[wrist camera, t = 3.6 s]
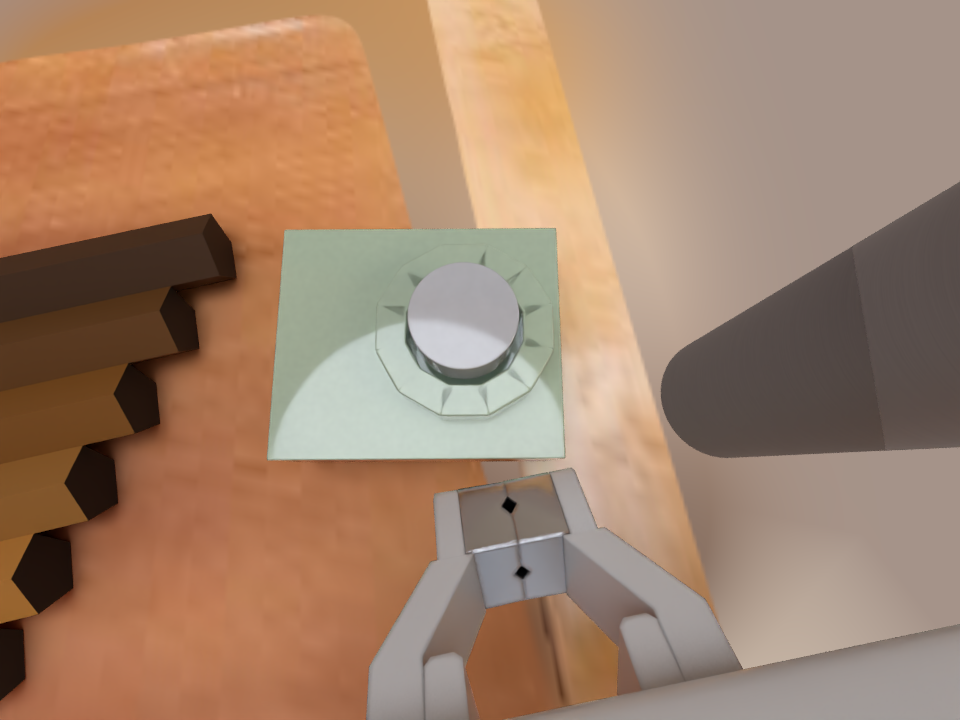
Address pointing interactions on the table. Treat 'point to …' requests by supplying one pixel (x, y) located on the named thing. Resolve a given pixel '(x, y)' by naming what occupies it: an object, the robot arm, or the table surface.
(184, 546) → the table surface
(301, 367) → the dispenser
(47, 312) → the pan flute
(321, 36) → the table surface
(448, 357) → the grey push button
